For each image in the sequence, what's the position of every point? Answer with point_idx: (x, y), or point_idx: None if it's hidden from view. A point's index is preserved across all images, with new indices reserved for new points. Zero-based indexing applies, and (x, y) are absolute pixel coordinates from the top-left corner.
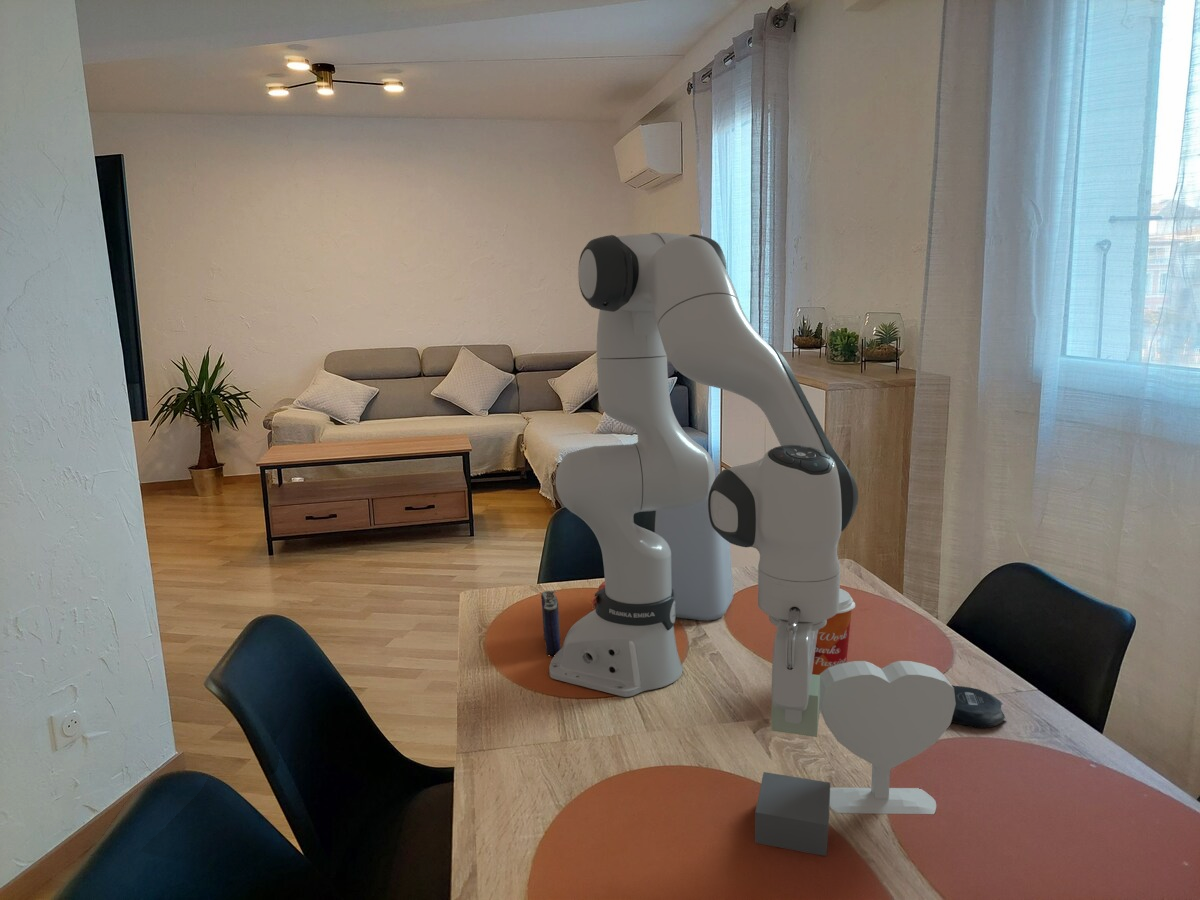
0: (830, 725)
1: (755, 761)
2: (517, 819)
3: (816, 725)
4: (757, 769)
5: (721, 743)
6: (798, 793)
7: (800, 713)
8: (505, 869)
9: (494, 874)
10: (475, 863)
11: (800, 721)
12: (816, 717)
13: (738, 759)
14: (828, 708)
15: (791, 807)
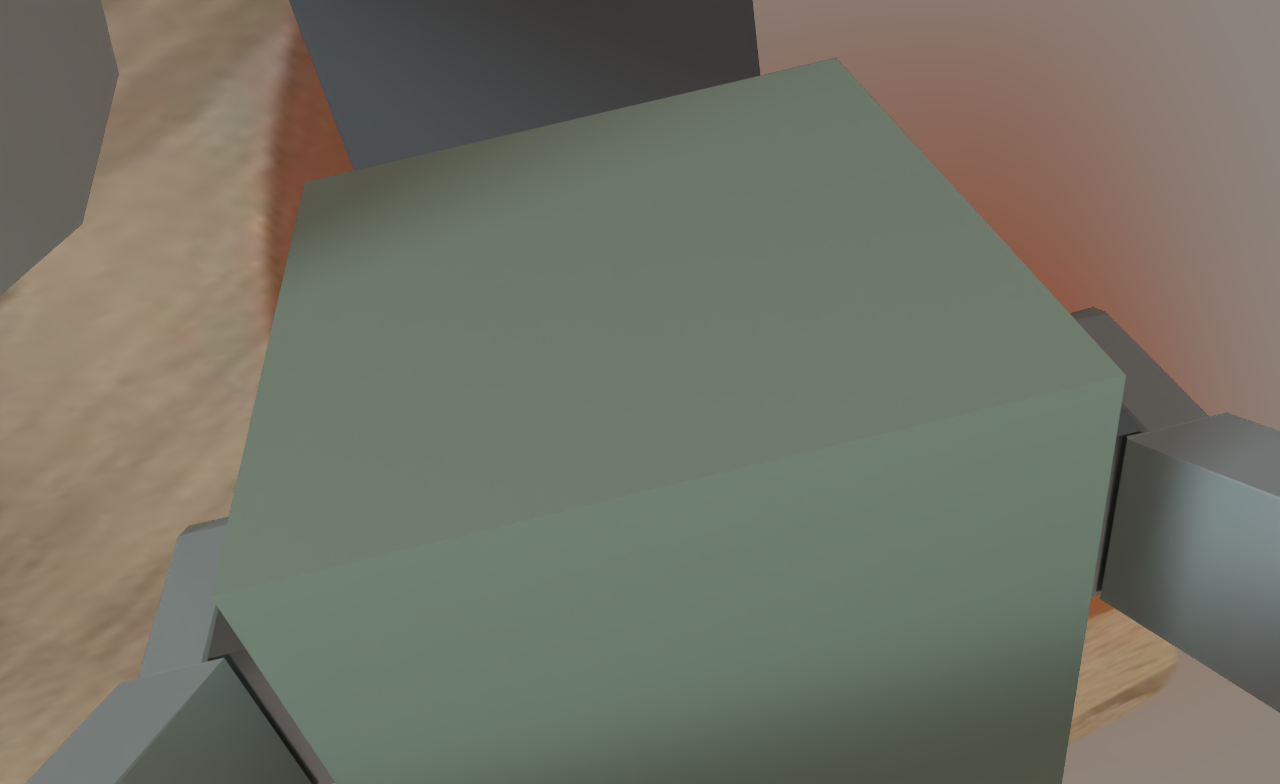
0: (79, 15)
1: (105, 339)
2: None
3: (891, 125)
4: (166, 306)
5: (90, 513)
6: (486, 28)
7: (1168, 388)
8: (1095, 659)
9: (1118, 666)
10: (1088, 712)
11: (1101, 318)
12: (939, 179)
13: (154, 407)
14: (40, 125)
15: (647, 23)
